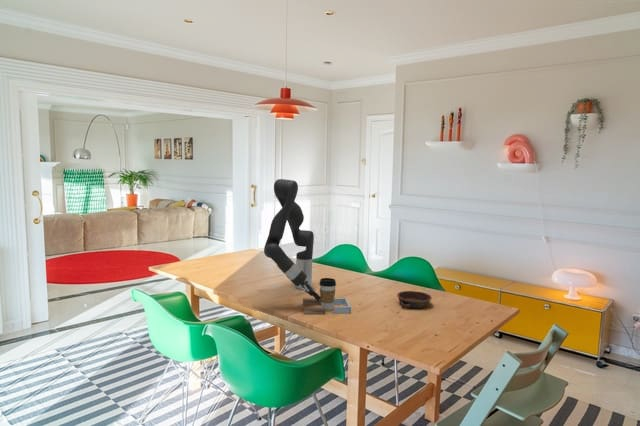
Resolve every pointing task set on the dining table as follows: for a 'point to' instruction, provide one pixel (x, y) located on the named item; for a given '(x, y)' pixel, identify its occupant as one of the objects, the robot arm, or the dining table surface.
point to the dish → (414, 299)
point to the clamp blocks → (313, 309)
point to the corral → (341, 309)
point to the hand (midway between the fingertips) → (319, 299)
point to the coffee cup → (327, 292)
